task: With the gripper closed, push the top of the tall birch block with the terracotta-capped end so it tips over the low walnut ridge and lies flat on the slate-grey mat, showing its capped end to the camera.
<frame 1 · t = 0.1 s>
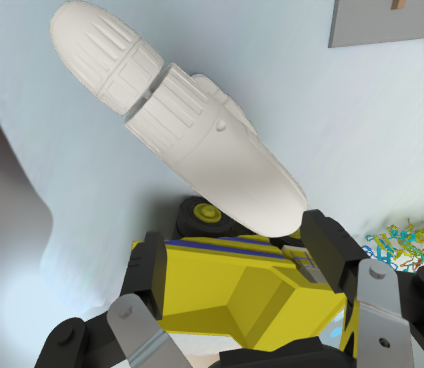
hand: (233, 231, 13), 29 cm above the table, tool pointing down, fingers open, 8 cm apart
power drill: (198, 102, 37), on the table
molecular model: (389, 234, 58), on the table
toy truck: (226, 239, 53), on the table
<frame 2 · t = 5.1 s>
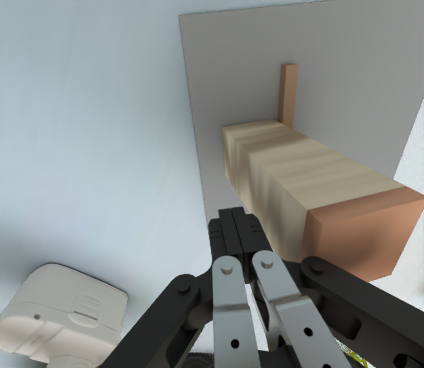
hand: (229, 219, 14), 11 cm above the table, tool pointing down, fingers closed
birch block: (248, 148, 22), point 1 cm above the table, tilted 8°, touching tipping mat
power drill: (62, 282, 31), on the table
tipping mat: (303, 136, 23), on the table
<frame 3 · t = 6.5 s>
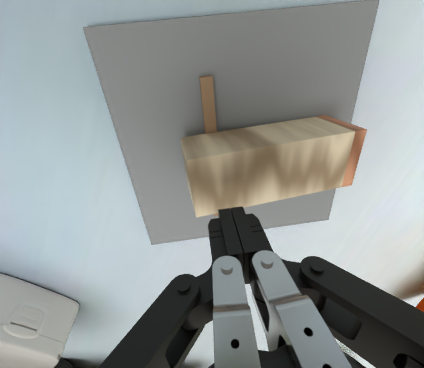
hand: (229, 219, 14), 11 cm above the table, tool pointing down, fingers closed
birch block: (187, 175, 19), point 5 cm above the table, tilted 96°, touching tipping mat
power drill: (8, 291, 30), on the table
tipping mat: (237, 146, 23), on the table
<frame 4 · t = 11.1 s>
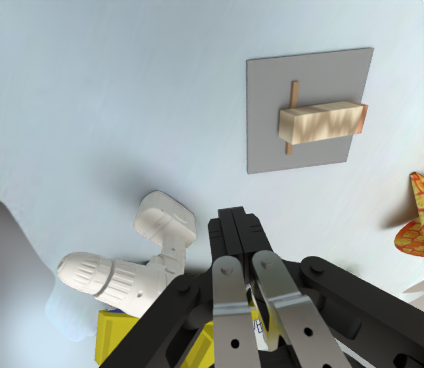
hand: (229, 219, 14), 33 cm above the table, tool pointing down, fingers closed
birch block: (285, 127, 40), point 5 cm above the table, tilted 96°, touching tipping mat
power drill: (158, 205, 52), on the table
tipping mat: (301, 117, 45), on the table
toy truck: (182, 288, 69), on the table
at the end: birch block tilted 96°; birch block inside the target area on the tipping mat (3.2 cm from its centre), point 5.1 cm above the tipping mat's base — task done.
